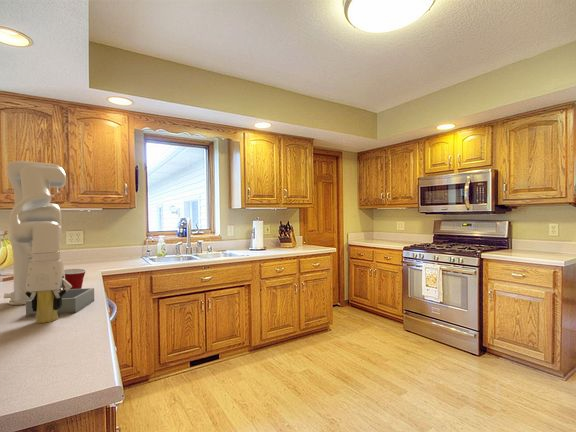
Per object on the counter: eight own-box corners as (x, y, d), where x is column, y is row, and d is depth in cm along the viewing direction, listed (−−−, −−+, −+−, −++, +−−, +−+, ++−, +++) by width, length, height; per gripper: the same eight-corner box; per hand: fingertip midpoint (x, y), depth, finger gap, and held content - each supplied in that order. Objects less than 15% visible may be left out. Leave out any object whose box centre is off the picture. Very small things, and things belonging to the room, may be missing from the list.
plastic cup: (72, 299, 137) (72, 272, 137) (51, 298, 139) (51, 271, 139) (92, 293, 148) (92, 268, 148) (73, 293, 150) (72, 267, 150)
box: (25, 316, 113) (25, 301, 113) (51, 303, 131) (51, 290, 131) (75, 313, 117) (75, 298, 117) (94, 300, 134) (94, 287, 135)
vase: (32, 324, 105) (31, 281, 105) (41, 318, 111) (40, 278, 111) (53, 322, 107) (52, 280, 107) (61, 316, 113) (60, 276, 113)
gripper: (10, 260, 103) (11, 315, 103) (69, 257, 107) (70, 310, 107) (24, 257, 111) (24, 308, 111) (78, 255, 114) (79, 304, 114)
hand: (47, 309), depth 109 cm, fingers closed on vase, 5 cm apart
